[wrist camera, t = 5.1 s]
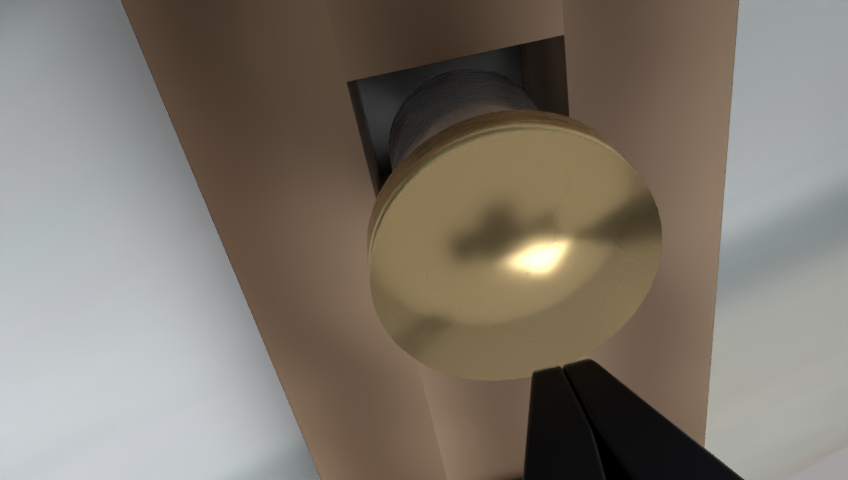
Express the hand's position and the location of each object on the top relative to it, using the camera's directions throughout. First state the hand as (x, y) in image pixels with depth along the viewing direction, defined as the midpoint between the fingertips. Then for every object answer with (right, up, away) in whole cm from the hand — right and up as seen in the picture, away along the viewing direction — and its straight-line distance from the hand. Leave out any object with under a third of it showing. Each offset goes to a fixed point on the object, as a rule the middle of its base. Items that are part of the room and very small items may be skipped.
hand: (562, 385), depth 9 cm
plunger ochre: (-1, +4, +7) cm, 8 cm away
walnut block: (0, +1, +13) cm, 13 cm away
